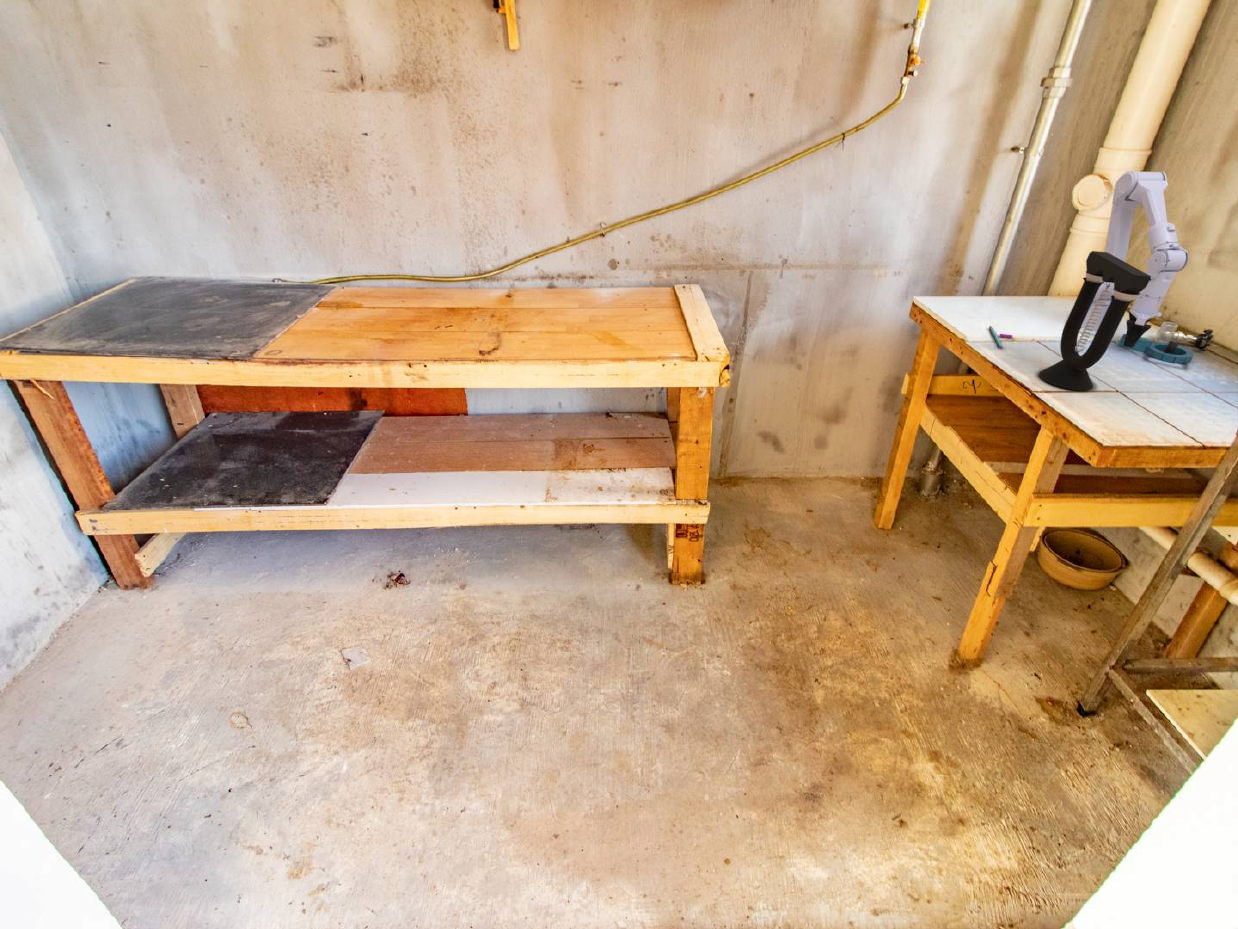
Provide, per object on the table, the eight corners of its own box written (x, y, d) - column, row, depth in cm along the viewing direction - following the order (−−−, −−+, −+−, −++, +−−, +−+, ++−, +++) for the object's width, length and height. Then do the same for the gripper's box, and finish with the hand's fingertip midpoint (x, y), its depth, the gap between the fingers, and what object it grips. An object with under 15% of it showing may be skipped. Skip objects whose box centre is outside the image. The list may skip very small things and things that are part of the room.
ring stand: (1144, 360, 179) (1154, 341, 176) (1146, 350, 185) (1155, 332, 182) (1185, 369, 174) (1195, 350, 171) (1185, 358, 180) (1195, 340, 177)
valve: (1153, 348, 186) (1204, 356, 182) (1164, 326, 182) (1216, 333, 178) (1148, 340, 191) (1197, 347, 187) (1159, 318, 187) (1209, 325, 183)
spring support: (1108, 398, 159) (1167, 276, 143) (1055, 394, 160) (1108, 273, 144) (1070, 363, 176) (1119, 251, 160) (1023, 360, 178) (1067, 248, 161)
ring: (1116, 350, 181) (1121, 340, 179) (1119, 339, 188) (1124, 329, 186) (1189, 366, 173) (1196, 355, 171) (1190, 354, 180) (1196, 343, 178)
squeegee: (1019, 347, 183) (1000, 345, 184) (1018, 350, 183) (999, 348, 184) (1007, 327, 195) (989, 325, 196) (1006, 330, 195) (988, 328, 196)
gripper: (1168, 305, 168) (1144, 353, 176) (1170, 291, 178) (1147, 337, 186) (1136, 299, 172) (1113, 347, 179) (1139, 285, 182) (1118, 331, 189)
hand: (1128, 342), depth 183 cm, fingers open, 7 cm apart
